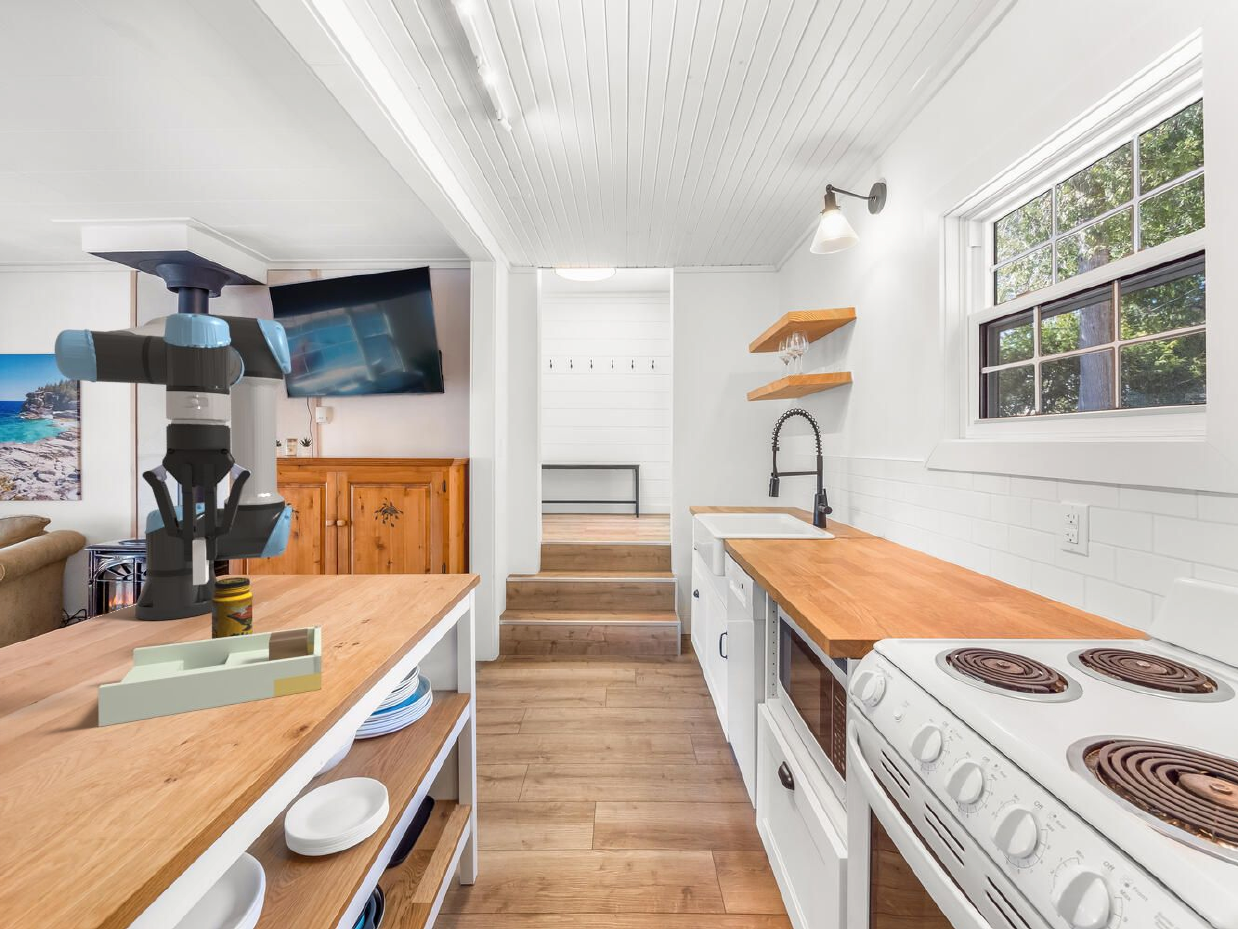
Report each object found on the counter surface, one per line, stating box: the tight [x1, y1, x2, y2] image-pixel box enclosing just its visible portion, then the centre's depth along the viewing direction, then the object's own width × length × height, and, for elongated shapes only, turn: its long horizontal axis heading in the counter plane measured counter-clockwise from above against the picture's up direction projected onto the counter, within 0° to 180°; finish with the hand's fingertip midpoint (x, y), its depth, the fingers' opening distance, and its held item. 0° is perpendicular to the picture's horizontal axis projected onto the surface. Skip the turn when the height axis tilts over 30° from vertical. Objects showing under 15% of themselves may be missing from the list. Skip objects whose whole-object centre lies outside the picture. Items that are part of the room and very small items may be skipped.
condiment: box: [211, 576, 254, 639], centre depth 100 cm, size 7×8×12 cm
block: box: [269, 627, 308, 661], centre depth 87 cm, size 5×5×4 cm
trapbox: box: [97, 625, 322, 728], centre depth 84 cm, size 16×25×5 cm, turn 118°
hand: (201, 582), depth 82 cm, fingers closed
